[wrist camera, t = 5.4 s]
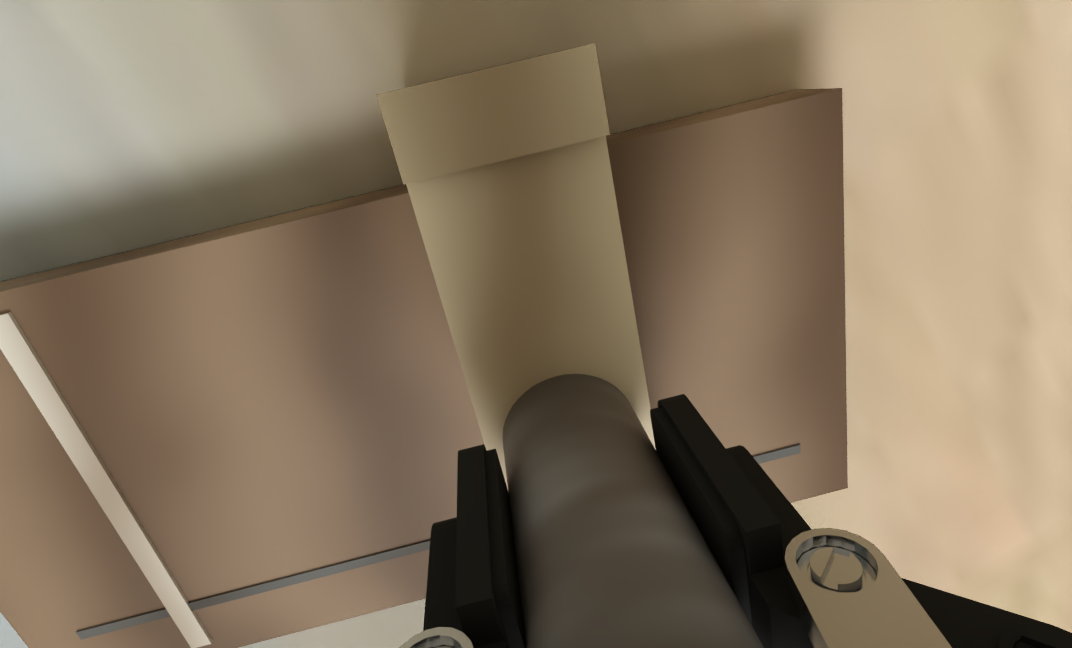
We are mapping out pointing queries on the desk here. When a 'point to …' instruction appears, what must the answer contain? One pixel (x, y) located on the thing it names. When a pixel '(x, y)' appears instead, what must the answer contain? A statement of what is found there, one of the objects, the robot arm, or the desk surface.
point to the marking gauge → (557, 353)
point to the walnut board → (379, 386)
